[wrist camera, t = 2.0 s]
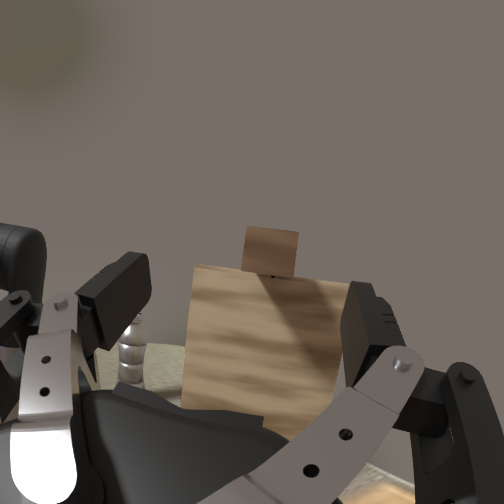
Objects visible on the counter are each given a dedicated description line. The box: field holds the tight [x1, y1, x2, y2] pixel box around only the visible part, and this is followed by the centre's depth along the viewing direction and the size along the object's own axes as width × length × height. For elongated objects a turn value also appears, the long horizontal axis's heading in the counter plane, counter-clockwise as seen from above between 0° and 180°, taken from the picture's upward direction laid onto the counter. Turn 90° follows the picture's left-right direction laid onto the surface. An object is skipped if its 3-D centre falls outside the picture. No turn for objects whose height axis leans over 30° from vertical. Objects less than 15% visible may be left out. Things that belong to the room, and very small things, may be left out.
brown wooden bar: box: [241, 226, 299, 278], centre depth 36 cm, size 28×4×4 cm, turn 173°
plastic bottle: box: [116, 313, 148, 389], centre depth 54 cm, size 6×7×20 cm
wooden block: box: [181, 264, 350, 441], centre depth 40 cm, size 18×18×32 cm
